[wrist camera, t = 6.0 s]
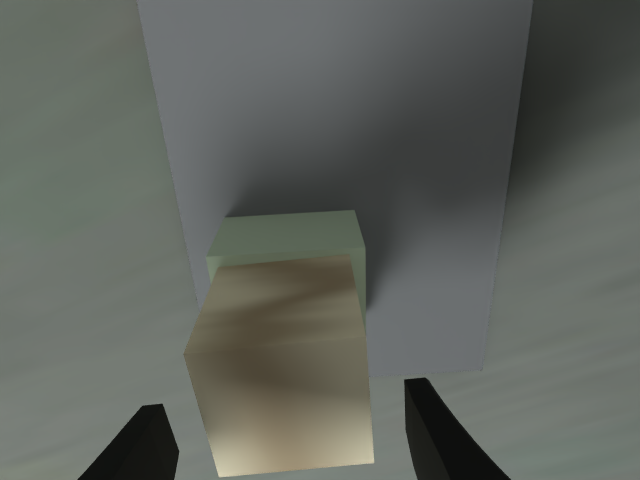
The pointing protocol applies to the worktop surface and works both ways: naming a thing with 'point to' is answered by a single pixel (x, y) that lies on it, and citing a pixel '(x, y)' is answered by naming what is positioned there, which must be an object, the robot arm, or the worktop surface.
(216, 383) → the birch block
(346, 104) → the play mat
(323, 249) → the sage brick
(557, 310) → the worktop surface
